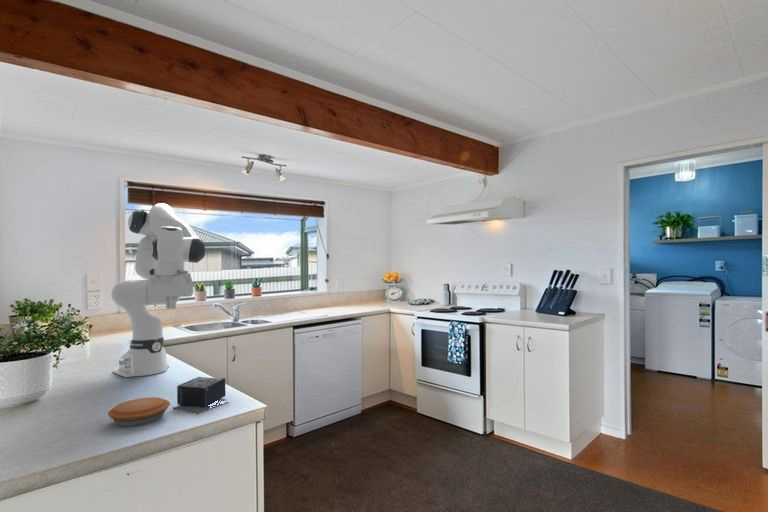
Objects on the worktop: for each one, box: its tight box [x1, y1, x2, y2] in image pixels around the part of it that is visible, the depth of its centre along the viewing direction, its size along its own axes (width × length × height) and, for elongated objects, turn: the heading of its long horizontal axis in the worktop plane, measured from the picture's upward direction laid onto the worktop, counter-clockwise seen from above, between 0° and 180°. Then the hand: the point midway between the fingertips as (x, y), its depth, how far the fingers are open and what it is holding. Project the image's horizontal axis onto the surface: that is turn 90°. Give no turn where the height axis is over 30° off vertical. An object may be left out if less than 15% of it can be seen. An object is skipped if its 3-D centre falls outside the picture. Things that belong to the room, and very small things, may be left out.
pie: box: [107, 397, 171, 428], centre depth 118 cm, size 15×16×5 cm
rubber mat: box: [172, 399, 223, 415], centre depth 130 cm, size 11×12×1 cm
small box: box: [176, 376, 226, 407], centre depth 133 cm, size 11×6×10 cm
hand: (170, 308), depth 148 cm, fingers closed
